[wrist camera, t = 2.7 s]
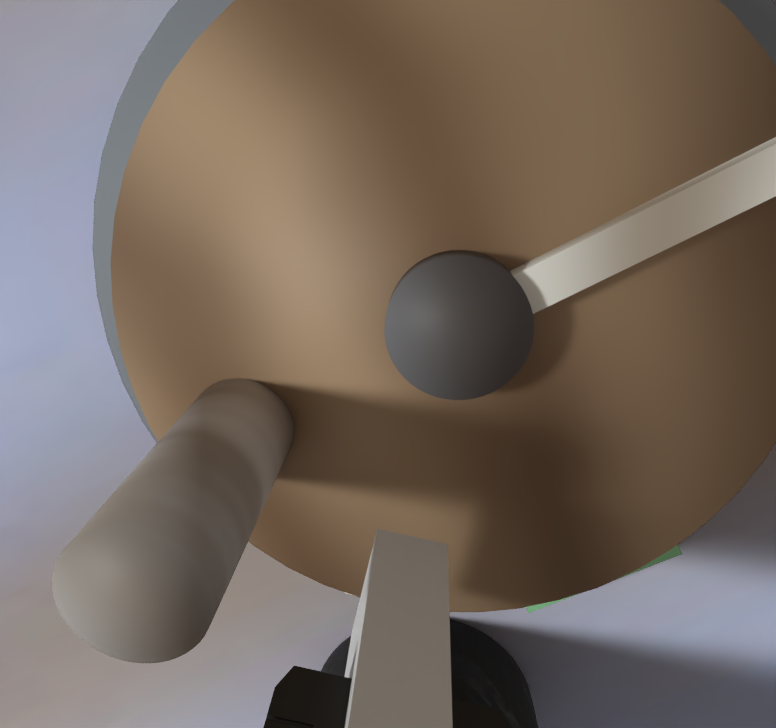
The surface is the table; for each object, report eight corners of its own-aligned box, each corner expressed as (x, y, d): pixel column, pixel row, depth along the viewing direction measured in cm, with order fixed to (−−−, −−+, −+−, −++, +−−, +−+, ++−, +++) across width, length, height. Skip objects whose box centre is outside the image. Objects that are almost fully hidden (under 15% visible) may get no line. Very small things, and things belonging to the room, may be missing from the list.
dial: (339, 637, 20) (281, 948, 12) (23, 166, 16) (-343, 201, 8) (867, 424, 17) (1222, 668, 9) (633, -228, 13) (913, -731, 5)
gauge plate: (105, -167, 15) (66, -201, 13) (934, -75, 15) (995, -99, 13) (120, 533, 21) (94, 566, 19) (707, 613, 21) (730, 654, 19)
